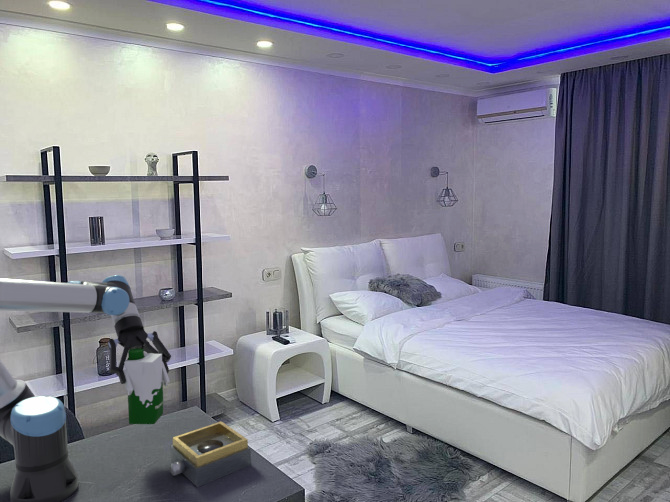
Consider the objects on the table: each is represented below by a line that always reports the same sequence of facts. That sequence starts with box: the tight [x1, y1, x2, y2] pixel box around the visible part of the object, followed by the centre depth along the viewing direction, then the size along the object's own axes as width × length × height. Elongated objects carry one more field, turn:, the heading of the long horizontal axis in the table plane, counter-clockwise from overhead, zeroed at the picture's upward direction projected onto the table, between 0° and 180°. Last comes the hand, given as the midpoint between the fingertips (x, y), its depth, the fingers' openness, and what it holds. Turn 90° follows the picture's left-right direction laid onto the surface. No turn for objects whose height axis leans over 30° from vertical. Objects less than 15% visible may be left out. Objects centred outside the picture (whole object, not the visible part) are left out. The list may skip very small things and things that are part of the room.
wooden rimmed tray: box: [169, 421, 252, 488], centre depth 143 cm, size 19×16×8 cm
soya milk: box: [124, 348, 164, 425], centre depth 146 cm, size 9×9×20 cm
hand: (149, 388), depth 144 cm, fingers closed on soya milk, 9 cm apart
